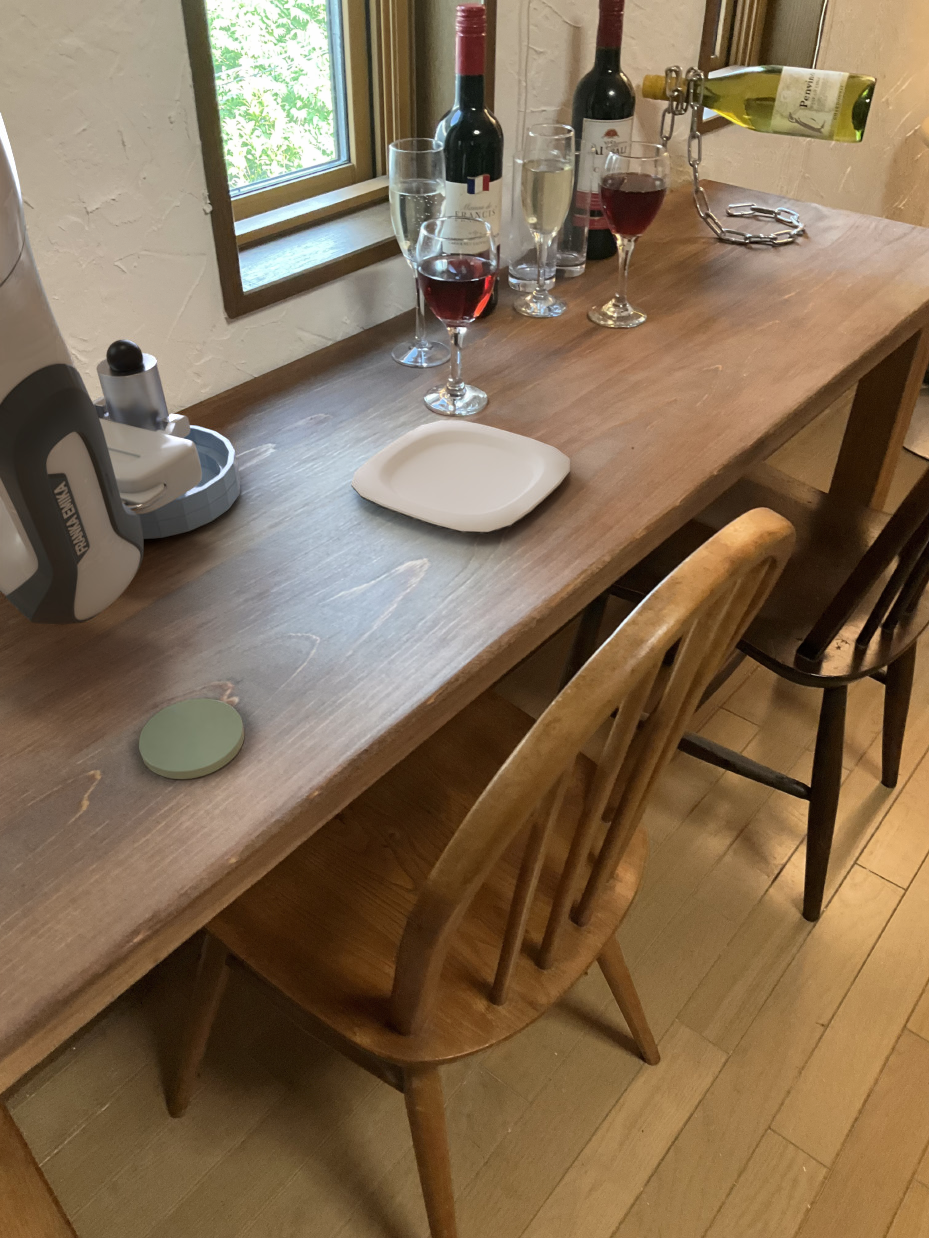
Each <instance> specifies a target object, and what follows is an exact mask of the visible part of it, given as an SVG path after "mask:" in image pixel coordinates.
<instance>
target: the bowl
mask: <svg viewBox="0 0 929 1238" xmlns="http://www.w3.org/2000/svg"><path fill="white" fill-rule="evenodd" d="M190 429H191V430H190V433H189V435H187V436H186V437H185V438H183V439H188V440H191V441H193V442H194V443H195V445H196V448H197V451H198V455H199V459H200V463H201V470H202V478H201V481H200V483H199V484H198V485H197V486H195V487H194V488H192V489H191V490H189V491H188V492H186V493H185V494H183V495H182V496H180V497H178V498H177V499H175V500H173V501H171V502H170V503H168V504H166V505H164V506H162V507H160V508H158V509H156V510H154V511H151V512H148V513H144V514H137V515H139V516H140V520H141V525H142V530H143V540H149V539H163V538H167V537H170V536H175V535H179V534H184V533H187V532H190V531H193V530H195V529H198V528H200V527H202V526H204V525H207V524H208V523H211V522H213V521H214V520H216V519H217V518H219V517H220V516H221V515H223V514H224V513H226V511H228V510H229V509H230V508H231V507H232V505H233V504H234V502H235V501H236V500H237V499H238V497H239V495H240V491H241V483H242V480H241V475H240V469H239V464H238V459H237V453H236V450H235V448H234V446H233V444H232V443H231V441H230V440H229V438H227V437H225V436H224V435H222V434H221V433H219V432H218V431H216V430H213V429H209V428H205V427H203V426H199V425H194V424H193V425H191V424H190Z"/></svg>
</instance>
